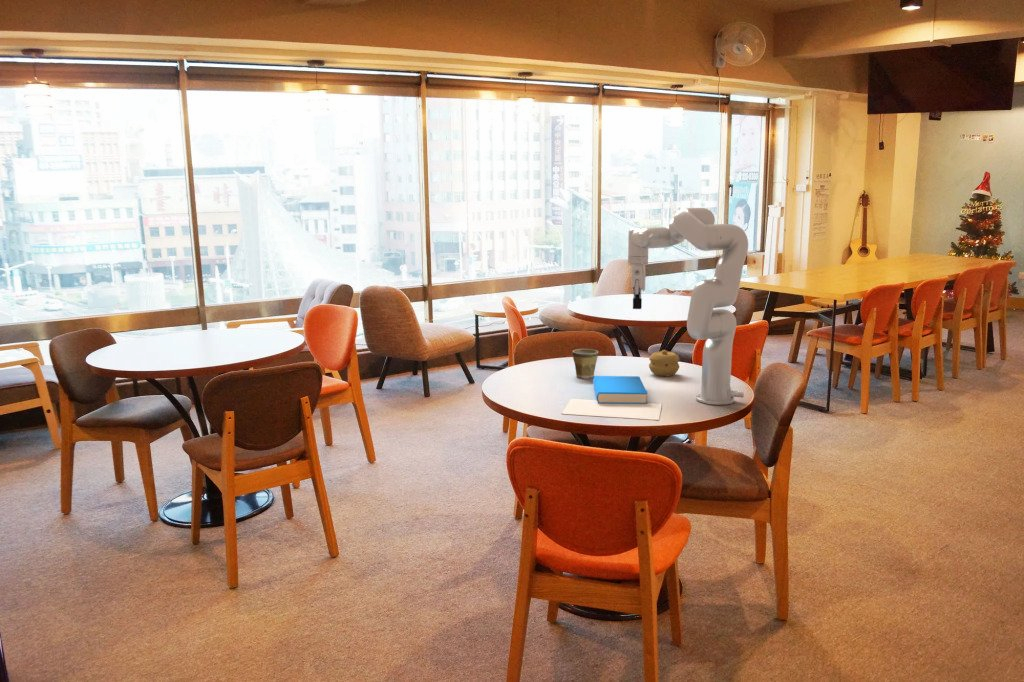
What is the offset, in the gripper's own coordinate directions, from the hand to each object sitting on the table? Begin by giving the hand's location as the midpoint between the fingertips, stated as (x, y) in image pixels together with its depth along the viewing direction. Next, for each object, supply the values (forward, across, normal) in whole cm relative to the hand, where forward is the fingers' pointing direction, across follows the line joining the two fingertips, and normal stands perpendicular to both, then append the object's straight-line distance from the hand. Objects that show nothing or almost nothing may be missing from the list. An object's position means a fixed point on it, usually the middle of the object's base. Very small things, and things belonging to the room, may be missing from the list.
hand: (637, 308), depth 305 cm
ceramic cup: (+27, -2, +20) cm, 33 cm away
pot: (+27, +5, -11) cm, 29 cm away
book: (+27, -30, +4) cm, 40 cm away
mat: (+27, -49, +5) cm, 56 cm away
